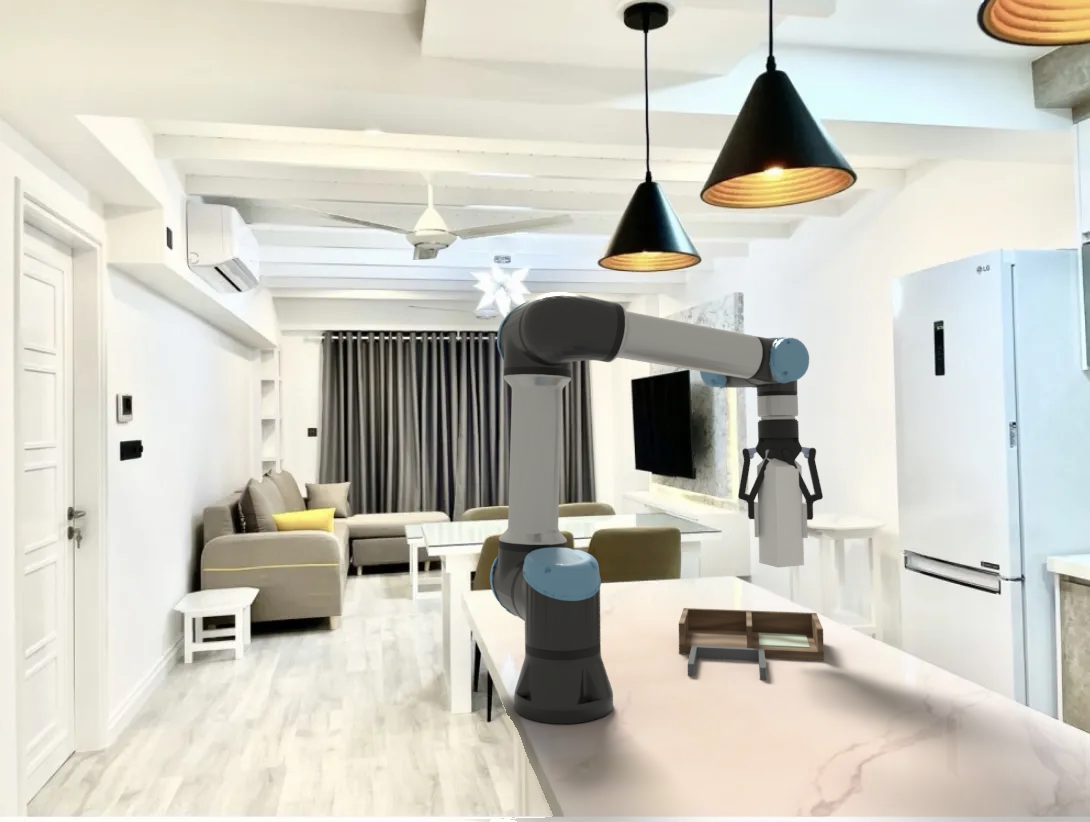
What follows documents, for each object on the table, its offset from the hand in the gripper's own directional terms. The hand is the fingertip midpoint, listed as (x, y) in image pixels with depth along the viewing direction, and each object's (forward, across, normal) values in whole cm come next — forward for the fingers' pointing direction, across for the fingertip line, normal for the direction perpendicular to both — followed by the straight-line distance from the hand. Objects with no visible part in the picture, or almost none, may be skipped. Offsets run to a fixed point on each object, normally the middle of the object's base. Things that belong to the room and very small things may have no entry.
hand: (780, 536), depth 154 cm
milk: (+5, 0, 0) cm, 5 cm away
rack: (+21, +6, 0) cm, 22 cm away
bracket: (+21, +10, +15) cm, 28 cm away
